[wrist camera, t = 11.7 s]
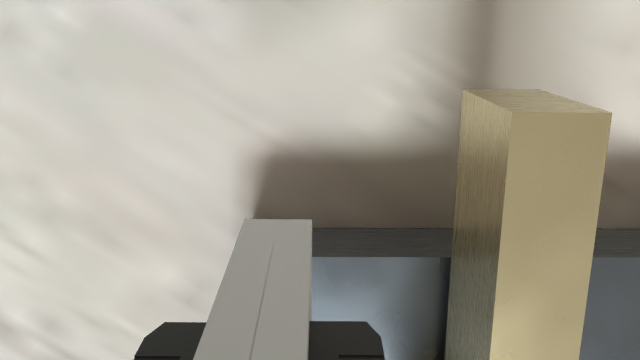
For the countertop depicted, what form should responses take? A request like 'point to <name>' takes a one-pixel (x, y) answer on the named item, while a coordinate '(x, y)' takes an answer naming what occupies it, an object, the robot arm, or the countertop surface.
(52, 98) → the countertop surface
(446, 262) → the tribrach plate
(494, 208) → the knob
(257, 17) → the countertop surface
